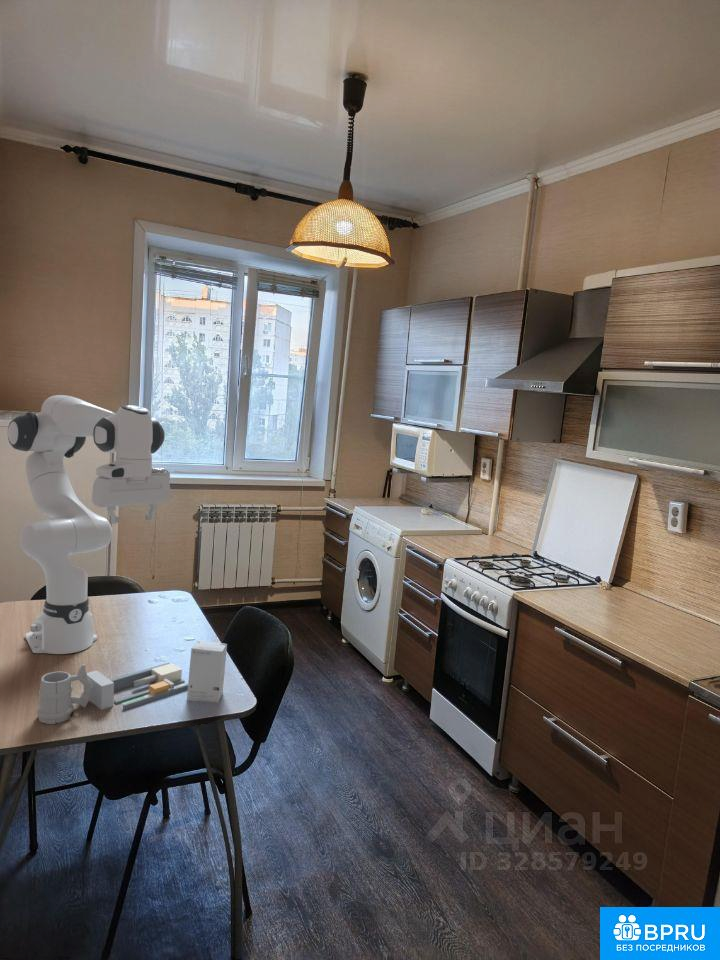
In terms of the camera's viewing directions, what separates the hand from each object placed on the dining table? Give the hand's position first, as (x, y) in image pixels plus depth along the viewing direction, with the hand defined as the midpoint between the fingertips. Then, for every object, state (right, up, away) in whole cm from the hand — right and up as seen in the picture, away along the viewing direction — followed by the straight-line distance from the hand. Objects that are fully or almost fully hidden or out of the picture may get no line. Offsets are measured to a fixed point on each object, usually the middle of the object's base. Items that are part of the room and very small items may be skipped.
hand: (132, 521), depth 164 cm
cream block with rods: (+7, -43, 0) cm, 44 cm away
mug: (-11, -45, -15) cm, 49 cm away
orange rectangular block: (+8, -44, -4) cm, 45 cm away
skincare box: (+20, -46, -3) cm, 50 cm away
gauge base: (+3, -44, -1) cm, 44 cm away
